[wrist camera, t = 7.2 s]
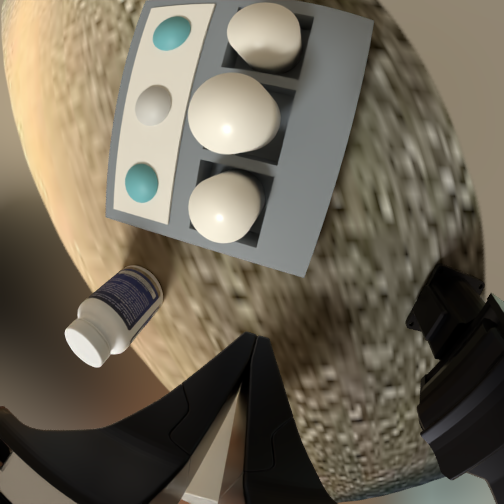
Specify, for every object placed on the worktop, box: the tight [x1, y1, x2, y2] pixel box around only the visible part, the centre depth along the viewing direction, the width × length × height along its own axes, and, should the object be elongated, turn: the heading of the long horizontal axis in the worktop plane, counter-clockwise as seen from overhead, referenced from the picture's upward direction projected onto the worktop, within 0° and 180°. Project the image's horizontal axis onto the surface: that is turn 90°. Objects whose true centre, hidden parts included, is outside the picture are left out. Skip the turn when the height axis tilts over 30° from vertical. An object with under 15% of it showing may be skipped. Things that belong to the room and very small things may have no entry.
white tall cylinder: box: [181, 383, 242, 504], centre depth 22 cm, size 7×7×15 cm
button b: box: [188, 73, 281, 154], centre depth 13 cm, size 4×4×4 cm
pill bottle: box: [65, 265, 163, 367], centre depth 21 cm, size 5×5×10 cm
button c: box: [188, 169, 265, 243], centre depth 17 cm, size 4×4×4 cm
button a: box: [227, 2, 302, 75], centre depth 12 cm, size 4×4×4 cm
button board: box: [106, 0, 374, 278], centre depth 16 cm, size 16×18×3 cm
